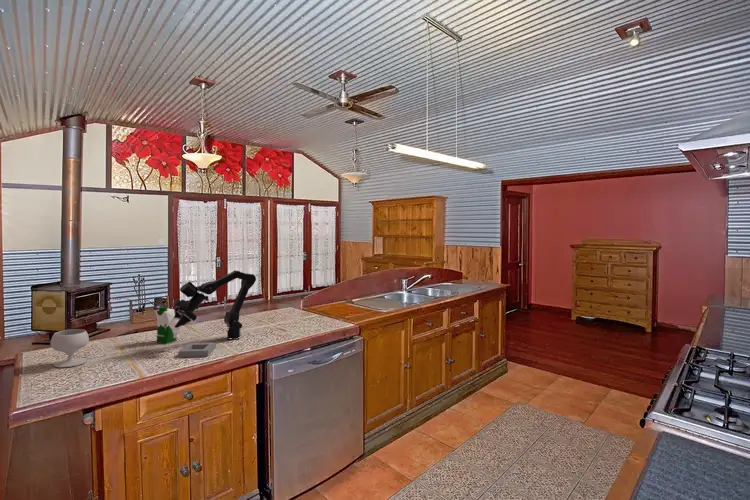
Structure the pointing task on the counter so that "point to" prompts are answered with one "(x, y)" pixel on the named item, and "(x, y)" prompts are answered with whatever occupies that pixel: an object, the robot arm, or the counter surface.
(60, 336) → the chalice
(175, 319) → the lightbulb
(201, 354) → the holder
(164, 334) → the milk carton
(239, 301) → the robot arm
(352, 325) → the counter surface
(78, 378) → the counter surface
